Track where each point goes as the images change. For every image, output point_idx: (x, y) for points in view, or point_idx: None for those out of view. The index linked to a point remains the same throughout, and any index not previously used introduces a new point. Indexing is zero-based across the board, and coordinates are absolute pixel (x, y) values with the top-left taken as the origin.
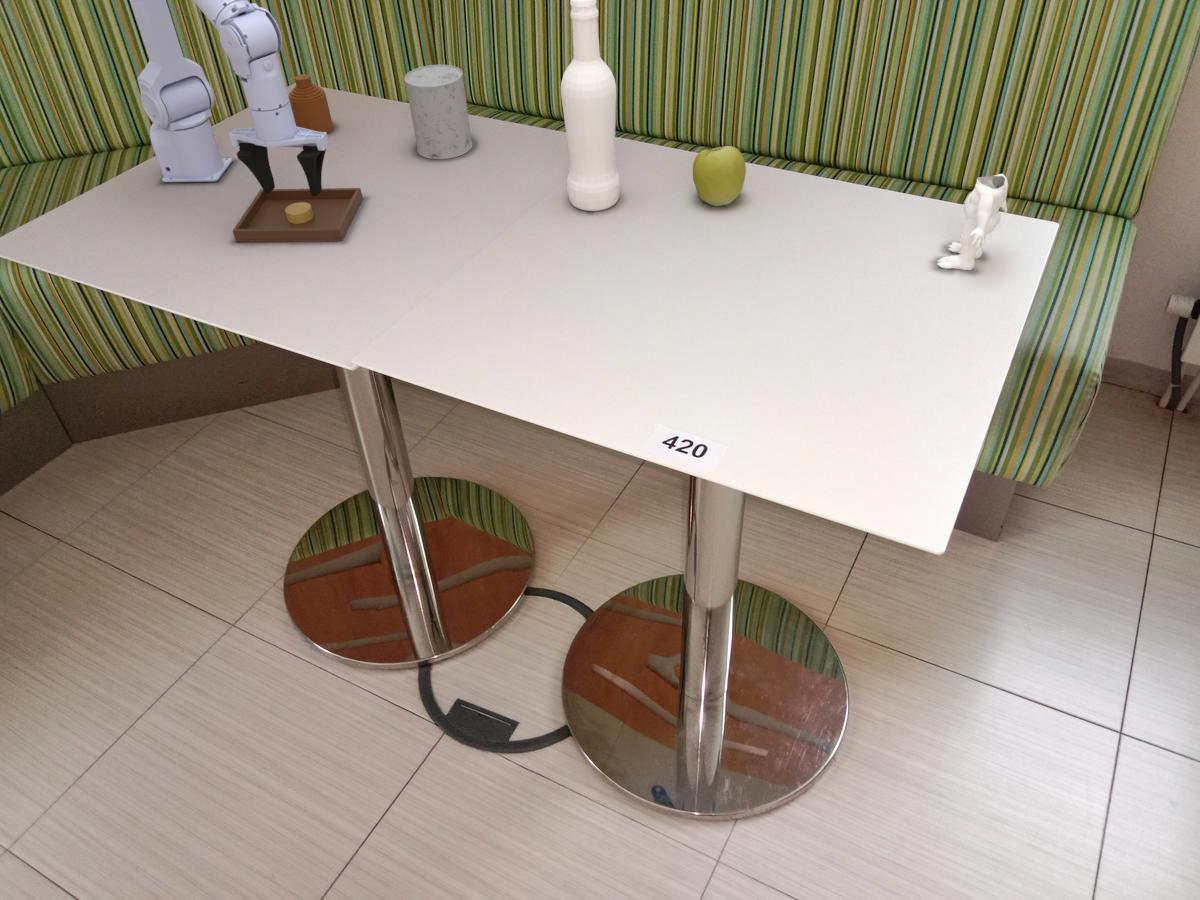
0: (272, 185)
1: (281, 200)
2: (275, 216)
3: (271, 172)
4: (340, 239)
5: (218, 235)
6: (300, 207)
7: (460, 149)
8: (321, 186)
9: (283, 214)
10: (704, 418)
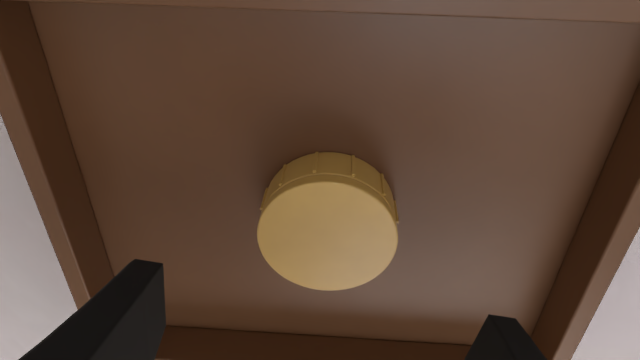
0: (153, 300)
1: (139, 8)
2: (194, 188)
3: (106, 337)
4: None
5: (17, 277)
6: (338, 234)
7: None
8: (530, 339)
9: (227, 172)
10: None
